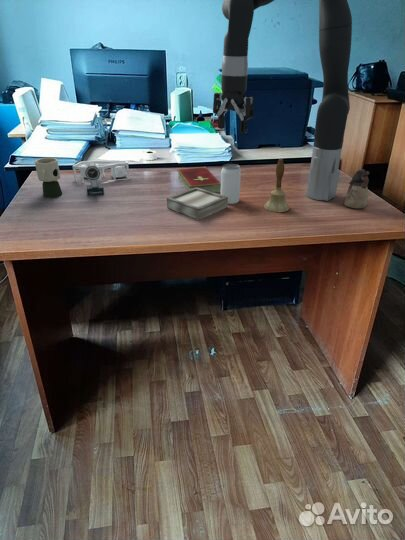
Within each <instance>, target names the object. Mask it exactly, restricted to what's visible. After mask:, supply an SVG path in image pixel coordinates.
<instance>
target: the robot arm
mask: <svg viewBox="0 0 405 540" xmlns="http://www.w3.org/2000/svg"><path fill="white" fill-rule="evenodd" d="M274 1H275V0H223V1H222V5H221V11H222V15H223V16H224V18H225V19H226V20H228V23H227V24H228V25H227V32H226V33H225V34H224V38H223V49H222V50H223V51H222V52H223V53H222V54H223V55H222V56H223V57H222V62H221V63H222V65H221V84H220V85H221V86H220V87H221V89H220V90H221V91H222V92H214V94H213V104H212V108H213V109H212V113H213V114H215V115H216V116H217V127H218V129H220V130H224V129H225V127H226V116H225V115H226V114H227V112H228V111H232V112H236V114H237V115H238V117H239V119H240V121H239V134H245V133H246V132H247V130H248V120H251V119H253V118H254V117H255V115H254V113H255V98H254V96H250V97H247V96H246V91H247V88H248V87H247V86H248V84H247V82H248V71H249V69H248V66H249V61H248V60H249V59H248V56H249V55H248V54H249V37H250V34H251V30H252V25H253V21H254V14H255V10H256V9H258V8H260V7H264V6H266V5H269V4H271V3H272V2H274ZM318 1H319V4H318V10H319V11H318V15H319V17H318V18H319V20H318V23H319V24H318V50H319V57H320V63H321V70H322V75H323V77H322V78H323V88H322V97H321V98H322V99H321V102H320V104H319V105H318V107H317V112H316V119H315V125H314V133H313V135H314V136H313V145H312V146H313V147H312V153H311V161H310V167H309V173H308V174H309V175H308V180H307V187H306V194H305V195H306V196H307V197H308V198H310V199H312V200H315V201H316V200H317V201H326V202H329V201H331V200H332V199H335V197H336V196H337V195H336V194H337V190H338V186H339V185H338V184H339V180H340V179H339V178H340V173H341V170H340V169H339V166H340V162H341V161H340V160H341V155H342V150H343V146H344V140H345V139H344V137H345V132H346V126H347V120H348V115H349V113H350V109H351V104H350V95H349V66H350V61H351V51H352V36H353V34H352V33H353V16H352V12H351V8H350V5H349V2H348V0H318Z"/></svg>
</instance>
